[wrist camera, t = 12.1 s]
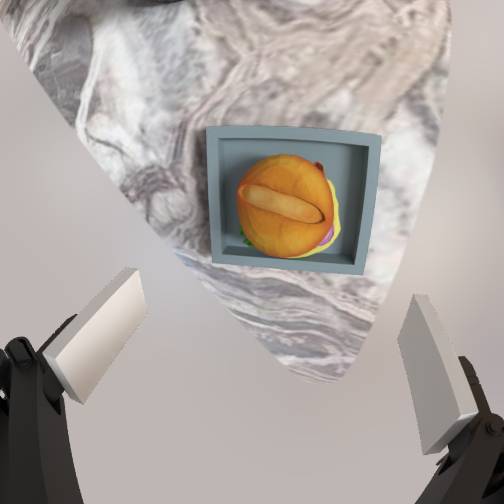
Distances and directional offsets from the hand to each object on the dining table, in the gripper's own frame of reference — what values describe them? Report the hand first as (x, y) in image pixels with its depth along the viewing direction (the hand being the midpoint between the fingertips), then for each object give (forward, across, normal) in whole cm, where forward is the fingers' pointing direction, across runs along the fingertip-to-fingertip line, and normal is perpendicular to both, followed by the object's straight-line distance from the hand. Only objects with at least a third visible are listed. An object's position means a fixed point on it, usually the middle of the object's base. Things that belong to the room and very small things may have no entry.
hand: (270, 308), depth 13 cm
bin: (+21, 0, 0) cm, 21 cm away
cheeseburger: (+20, 0, -1) cm, 20 cm away
